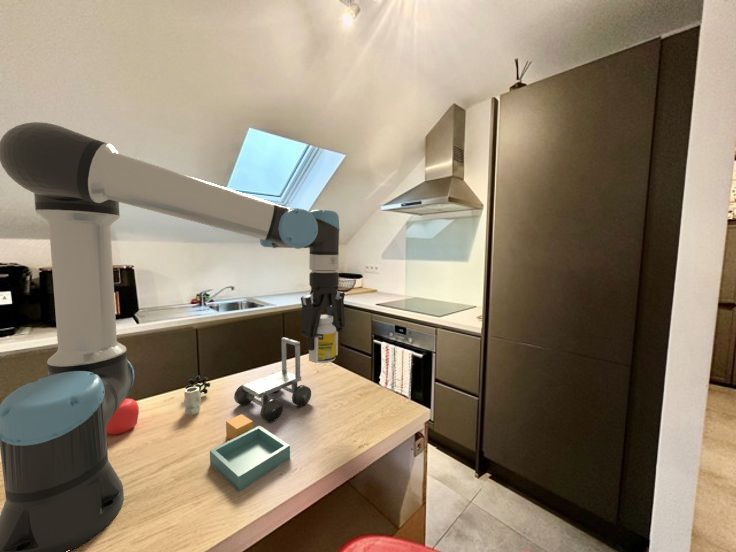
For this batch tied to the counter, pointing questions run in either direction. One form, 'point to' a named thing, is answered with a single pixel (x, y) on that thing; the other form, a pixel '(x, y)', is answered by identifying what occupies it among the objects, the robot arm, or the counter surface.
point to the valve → (194, 395)
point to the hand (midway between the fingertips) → (323, 357)
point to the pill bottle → (326, 339)
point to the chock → (238, 426)
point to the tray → (249, 457)
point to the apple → (123, 417)
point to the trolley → (275, 387)
